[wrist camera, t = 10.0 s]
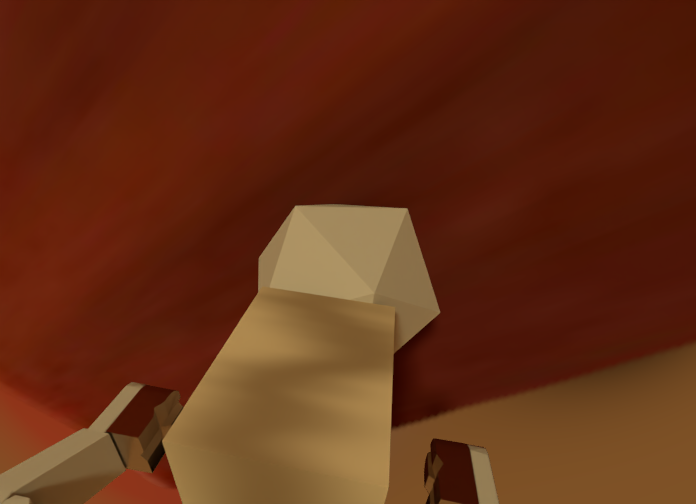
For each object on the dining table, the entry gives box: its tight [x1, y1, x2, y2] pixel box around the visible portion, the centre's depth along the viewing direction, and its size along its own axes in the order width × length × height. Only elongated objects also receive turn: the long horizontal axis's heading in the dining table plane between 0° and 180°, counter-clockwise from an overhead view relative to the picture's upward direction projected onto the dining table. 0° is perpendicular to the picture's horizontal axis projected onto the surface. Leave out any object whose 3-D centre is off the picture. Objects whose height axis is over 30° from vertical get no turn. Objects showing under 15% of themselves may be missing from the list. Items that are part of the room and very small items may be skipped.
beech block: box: [162, 286, 395, 504], centre depth 11 cm, size 5×5×6 cm
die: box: [258, 204, 440, 353], centre depth 17 cm, size 8×9×10 cm
